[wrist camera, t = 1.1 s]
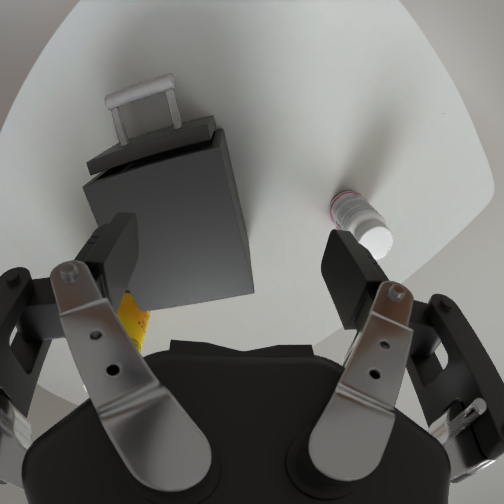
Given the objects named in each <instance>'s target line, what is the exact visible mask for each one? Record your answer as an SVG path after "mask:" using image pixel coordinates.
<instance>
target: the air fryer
mask: <svg viewBox="0 0 504 504" xmlns="http://www.w3.org/2000/svg"><path fill="white" fill-rule="evenodd" d="M209 141H212V143H211V146H210V147H207V148H203V149H199V150H195V151H191V152H187V153H183V154H179V155H176V156H172V157H168V158H165V159H161V160H158V161H154V162H151V163H147V164H144V165H141V166H137V167H134V168H131V169H128V170H125V171H122V170H123V169H124V168H125V167H126V166H128V165H129V164H130V163H133V162H136V161H139V160H142V159H146V158H149V157H152V156H156V155H159V154H163V153H166V152H170V151H173V150H177V149H181V148H185V147H188V146H192V145H196V144H201V143H205V142H209ZM121 171H122V172H121ZM83 189H84V192H85V195H86V197H87V200H88V202H89V205H90V207H91V210H92V212H93V215H94V217H95V219H96V222H97V224H98V226H99V227H100V226H102V225H103V224H105V223H108V224H109V223H110V222H111V220H112V219H113V217H114V216H115V215H116V213H117V212H124V213H135V214H136V216H137V228H138V242H139V256H138V261H137V264H136V266H135V268H134V271H133V273H132V276H131V278H130V281H129V283H128V286H127V287H128V289H129V291H130V293H131V295H132V297H133V299H134V301H135V302H136V304H137V306H138V308H139V310H140V311H141V312H144V311H151V310H158V309H164V308H171V307H177V306H183V305H189V304H195V303H201V302H207V301H213V300H219V299H225V298H230V297H236V296H241V295H247V294H252V293H254V284H253V276H252V267H251V259H250V250H249V241H248V237H247V232H246V228H245V223H244V219H243V215H242V210H241V206H240V201H239V197H238V192H237V188H236V183H235V179H234V174H233V170H232V166H231V161H230V157H229V152H228V148H227V143H226V139H225V134H224V130H223V129H220V130H215V131H214V132H213V135H212V137H211V140H207V141H203V142H199V143H195V144H191V145H187V146H183V147H179V148H175V149H172V150H168V151H165V152H161V153H158V154H154V155H151V156H148V157H144V158H141V159H138V160H135V161H132V162H128V163H125V164H122V165H119V166H116V167H114V168H111V169H108V170H105V171H102V172H101V173H99V174H98V175H97V176H96V177H94V178H93V179H92V180H91V181H90V182H88V183H87V184H86V185H85V186H83Z"/></svg>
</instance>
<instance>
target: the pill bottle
mask: <svg viewBox="0 0 504 504" xmlns="http://www.w3.org/2000/svg"><path fill="white" fill-rule="evenodd" d="M329 214H330V218H331V220H332V221H333V223H334V224H335V226H336V227H337V229H338V230H345V231H350V232H351V233H352V234H353V236H354V237H355V239H356V240H357V241H358V243H360V244H361V245H363V246H364V247H365V248H367V249H368V250H369V252H370V253H371V254H372V256H373V259H375V260H379V259H381V258H382V257H384V256H385V255H386V254H387V253H388V252H389V250H390V249H391V246H392V243H393V235H392V233H391V231H390V230H389V229H388V227H387V226H386V222H385V220H384V218H383V217H382V216H381V215H380V214H379V213H378V212H377V211H376V210H375V209H374V208H373V207H372V206H371V205H370V204H369V203H368V202H367V201H366V200H365V199H364V198H363V197H362V196H361V195H360V194H359V193H357V192H354V191H345V192H342V193H340V194H339V195H337V196H336V197H335V198H334V199H333V201H332V202H331V205H330V209H329Z"/></svg>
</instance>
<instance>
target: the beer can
mask: <svg viewBox="0 0 504 504" xmlns="http://www.w3.org/2000/svg"><path fill="white" fill-rule="evenodd" d="M117 316H118V317H119V319H120V321H121V323H122V324H123V326H124V328H125V329H126V331H127V333H128V334H129V336H130V338H131V339H132V341H133V343H134V344H135V346H136V348H137V349H138V351H139V352H141V348H142V344H143V340H144V336H145V332H146V328H147V324H148V320H149V316H150V311H144V312H141V311H140V310H139V308H138V306H137V304H136V302H135V301H134V299H133V297H132V295H131V293H124V296H123V298H122V301H121V304H120V306H119V309H118V312H117ZM83 387H84V389H85V390H86V388H85V385H84V383H83ZM86 392H87V390H86ZM87 393H88V392H87Z"/></svg>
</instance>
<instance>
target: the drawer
mask: <svg viewBox="0 0 504 504" xmlns="http://www.w3.org/2000/svg"><path fill="white" fill-rule="evenodd" d="M174 88H175V81H174V77H173V75H172V73H169V74H166V75H163V76H159V77H156V78H153V79H150V80H147V81H144V82H141V83H139V84H136V85H133V86H130V87H128V88H125V89H122V90H120V91H117V92H115V93H112V94H110V95H107V96H106V97H105V105H106V107H107V109H108V110H111V112H112V115H113V119H114V123H115V126H116V130H117V133H118V137H119V140H120V143H118V144H116V145H114V146H112V147H111V148H109V149H107V150H106V151H104V152H102V153H101V154H99V155H98V156H96V157H94V158H93V159H91V160H90V161H88V162H87V163H86V164H87V166H88V169H89V172H90V175H94V174H97V173H99V172H102V171H105V170H108V169H111V168H114V167H116V166H119V165H122V164H125V163H128V162H132V161H135V160H138V159H141V158H144V157H148V156H151V155H154V154H158V153H161V152H165V151H168V150H172V149H175V148H179V147H183V146H187V145H191V144H195V143H199V142H203V141H207V140H211V137H212V135H213V132H214V130H215V127H216V124H215V120H214V116H213V115H212V116H208V117H204V118H200V119H196V120H192V121H188V122H184V123H181V119H180V115H179V111H178V107H177V103H176V99H175V95H174V90H173V89H174ZM163 91H165V93H166V97H167V101H168V105H169V109H170V113H171V117H172V121H173V126H170V127H166V128H163V129H160V130H156V131H153V132H150V133H147V134H143V135H140V136H137V137H134V138H131V139H128V138H127V134H126V131H125V127H124V124H123V120H122V117H121V113H120V109H119V107H120V106H122V105H125V104H128V103H130V102H133V101H136V100H139V99H142V98H145V97H148V96H151V95H154V94H157V93H160V92H163ZM211 143H212V141H209V142H205V143H201V144H196V145H192V146H188V147H185V148H181V149H177V150H173V151H170V152H166V153H163V154H159V155H156V156H152V157H149V158H146V159H142V160H139V161H136V162H133V163H130V164H129V165H128V166H126V167H125V168H124V169H123V170H122V171H125V170H128V169H131V168H134V167H137V166H141V165H144V164H147V163H151V162H154V161H158V160H161V159H165V158H168V157H172V156H176V155H179V154H183V153H187V152H191V151H195V150H199V149H203V148H207V147H210V146H211ZM122 171H121V172H122Z"/></svg>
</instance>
